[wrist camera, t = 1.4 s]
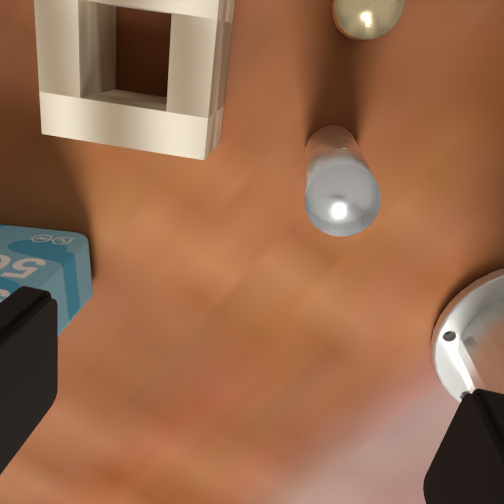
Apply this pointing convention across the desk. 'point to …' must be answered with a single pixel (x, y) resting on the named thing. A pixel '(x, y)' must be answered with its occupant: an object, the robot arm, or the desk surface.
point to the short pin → (366, 17)
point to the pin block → (125, 102)
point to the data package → (47, 266)
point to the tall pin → (339, 183)
